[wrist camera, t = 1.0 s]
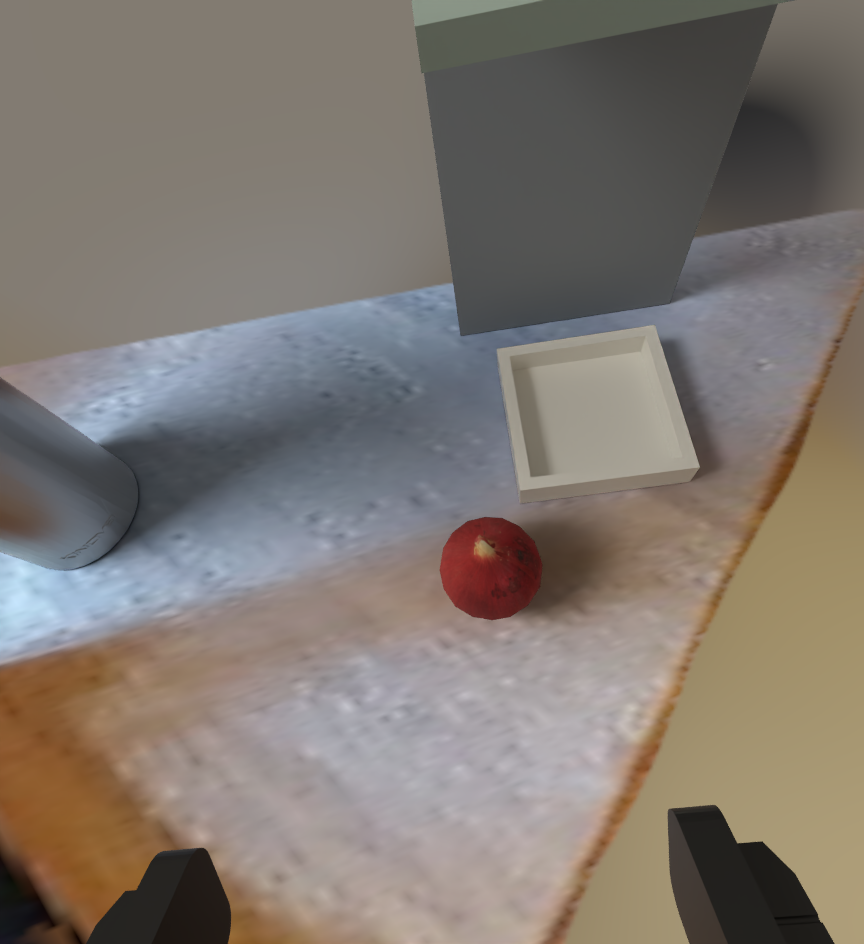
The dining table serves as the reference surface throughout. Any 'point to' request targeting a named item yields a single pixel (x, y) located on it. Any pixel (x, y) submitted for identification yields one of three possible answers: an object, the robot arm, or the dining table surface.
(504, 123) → the inverted l bracket
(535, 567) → the onion
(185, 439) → the dining table surface
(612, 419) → the tray
